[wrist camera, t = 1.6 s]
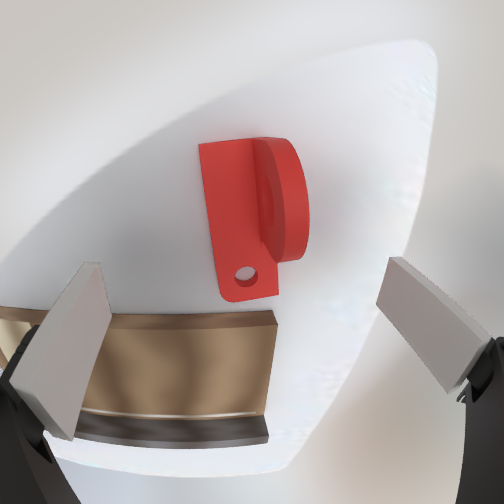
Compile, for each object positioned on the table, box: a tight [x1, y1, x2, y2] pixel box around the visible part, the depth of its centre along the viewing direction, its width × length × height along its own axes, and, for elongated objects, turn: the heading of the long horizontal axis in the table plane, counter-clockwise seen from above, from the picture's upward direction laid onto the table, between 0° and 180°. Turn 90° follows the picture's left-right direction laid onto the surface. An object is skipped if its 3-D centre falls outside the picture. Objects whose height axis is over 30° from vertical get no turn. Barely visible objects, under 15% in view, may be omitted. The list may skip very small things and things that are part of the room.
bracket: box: [199, 137, 309, 302], centre depth 17 cm, size 12×4×8 cm, turn 5°
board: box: [0, 306, 278, 449], centre depth 22 cm, size 32×16×5 cm, turn 87°
